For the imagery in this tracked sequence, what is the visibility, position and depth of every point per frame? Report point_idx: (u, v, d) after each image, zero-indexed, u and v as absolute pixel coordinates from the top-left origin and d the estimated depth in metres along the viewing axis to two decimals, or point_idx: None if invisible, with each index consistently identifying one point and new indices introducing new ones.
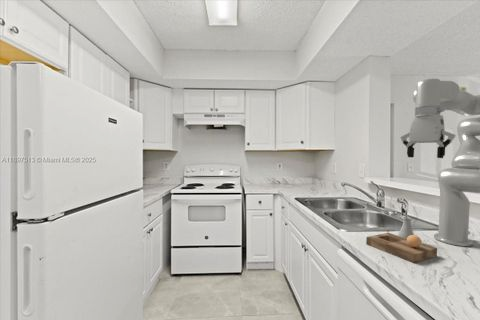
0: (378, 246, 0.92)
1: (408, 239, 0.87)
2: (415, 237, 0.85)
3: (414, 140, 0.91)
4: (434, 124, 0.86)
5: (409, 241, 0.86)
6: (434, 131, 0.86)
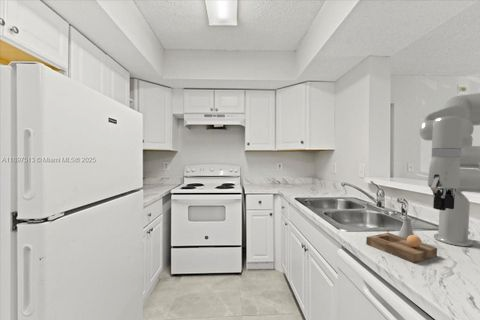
0: (378, 246, 0.92)
1: (408, 239, 0.87)
2: (415, 237, 0.85)
3: (447, 187, 0.75)
4: (459, 169, 0.77)
5: (409, 241, 0.86)
6: (459, 177, 0.78)
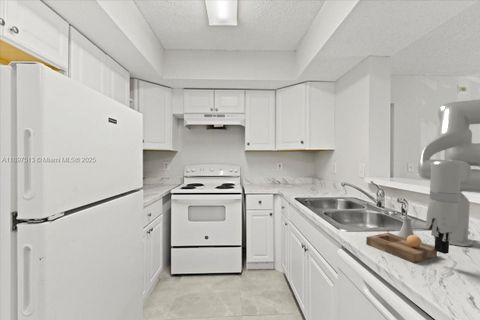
0: (378, 246, 0.92)
1: (408, 239, 0.87)
2: (415, 237, 0.85)
3: (445, 231, 0.75)
4: (457, 212, 0.78)
5: (409, 241, 0.86)
6: (456, 220, 0.78)
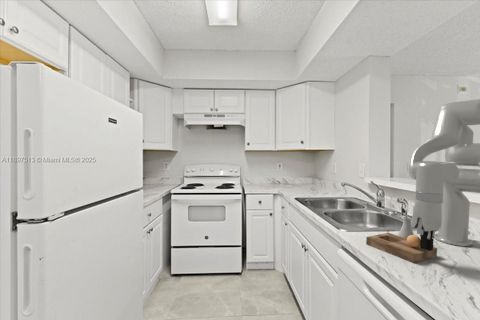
0: (378, 246, 0.92)
1: (408, 239, 0.87)
2: (415, 237, 0.85)
3: (429, 229, 0.80)
4: (441, 212, 0.82)
5: (409, 241, 0.86)
6: (440, 219, 0.82)
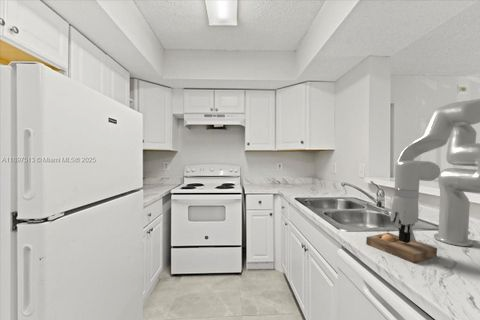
0: (378, 246, 0.92)
1: (390, 236, 0.95)
2: (390, 239, 0.94)
3: (406, 223, 0.86)
4: (417, 207, 0.89)
5: None
6: (417, 213, 0.89)
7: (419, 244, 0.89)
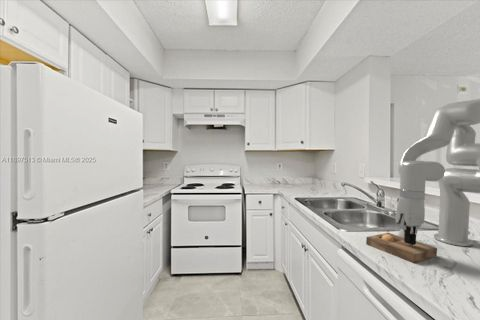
0: (378, 246, 0.92)
1: (391, 236, 0.95)
2: (390, 239, 0.93)
3: (411, 225, 0.85)
4: (423, 208, 0.87)
5: (389, 235, 0.96)
6: (423, 215, 0.87)
7: (419, 244, 0.89)
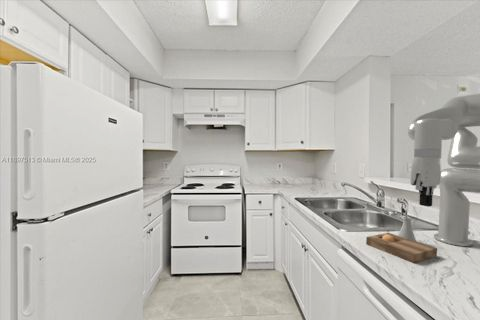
0: (378, 246, 0.92)
1: (391, 236, 0.95)
2: (391, 240, 0.93)
3: (428, 185, 0.80)
4: (439, 168, 0.83)
5: (389, 235, 0.95)
6: (439, 175, 0.83)
7: (419, 244, 0.89)
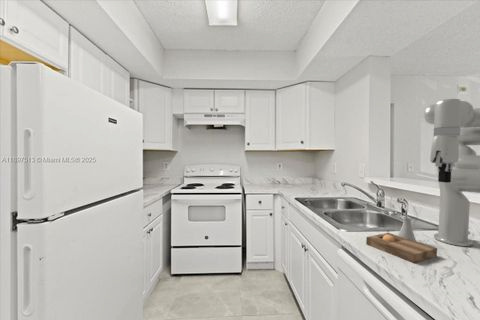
0: (378, 246, 0.92)
1: (392, 237, 0.95)
2: (391, 241, 0.93)
3: (447, 161, 0.85)
4: (458, 146, 0.87)
5: None
6: (458, 153, 0.87)
7: (419, 244, 0.89)
